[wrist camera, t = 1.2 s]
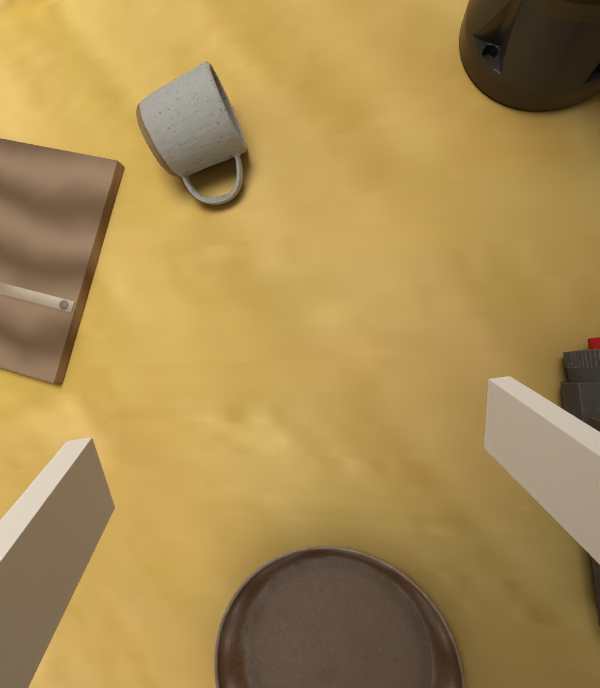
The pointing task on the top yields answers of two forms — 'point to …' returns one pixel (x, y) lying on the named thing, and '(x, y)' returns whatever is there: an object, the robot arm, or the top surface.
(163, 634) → the top surface
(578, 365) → the laser sight
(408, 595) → the plant saucer
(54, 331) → the board
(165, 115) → the ceramic mug
